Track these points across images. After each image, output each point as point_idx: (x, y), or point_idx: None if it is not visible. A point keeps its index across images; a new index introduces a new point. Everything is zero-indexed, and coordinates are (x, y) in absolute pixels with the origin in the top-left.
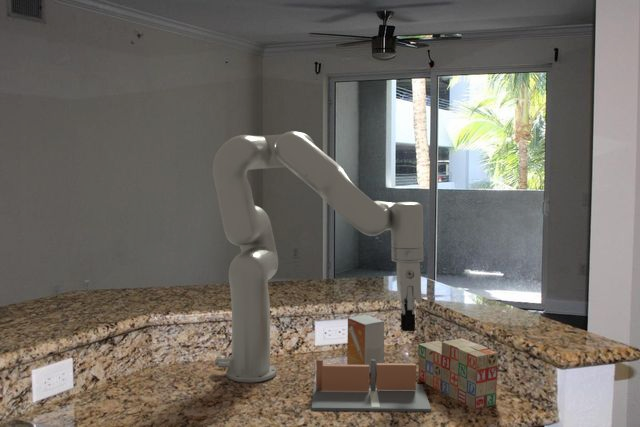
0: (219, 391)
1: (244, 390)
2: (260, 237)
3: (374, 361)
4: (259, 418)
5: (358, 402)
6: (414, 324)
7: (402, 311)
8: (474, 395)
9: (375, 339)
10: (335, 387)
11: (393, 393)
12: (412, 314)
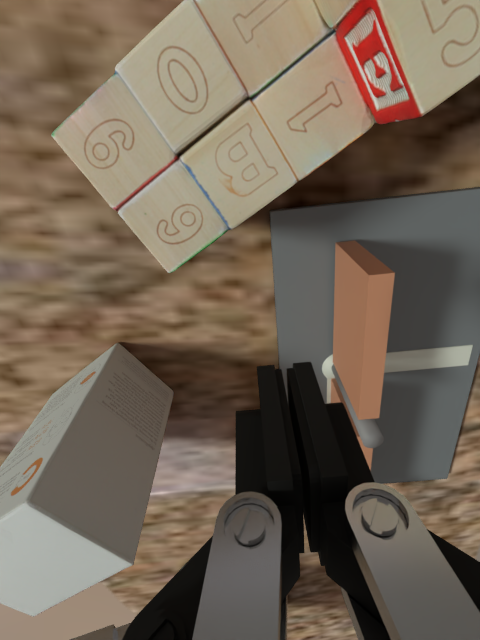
0: (327, 597)
1: (321, 573)
2: None
3: (381, 435)
4: (469, 536)
5: (429, 395)
6: (321, 396)
7: (346, 597)
8: None
9: (111, 454)
10: None
11: None
12: (396, 506)
